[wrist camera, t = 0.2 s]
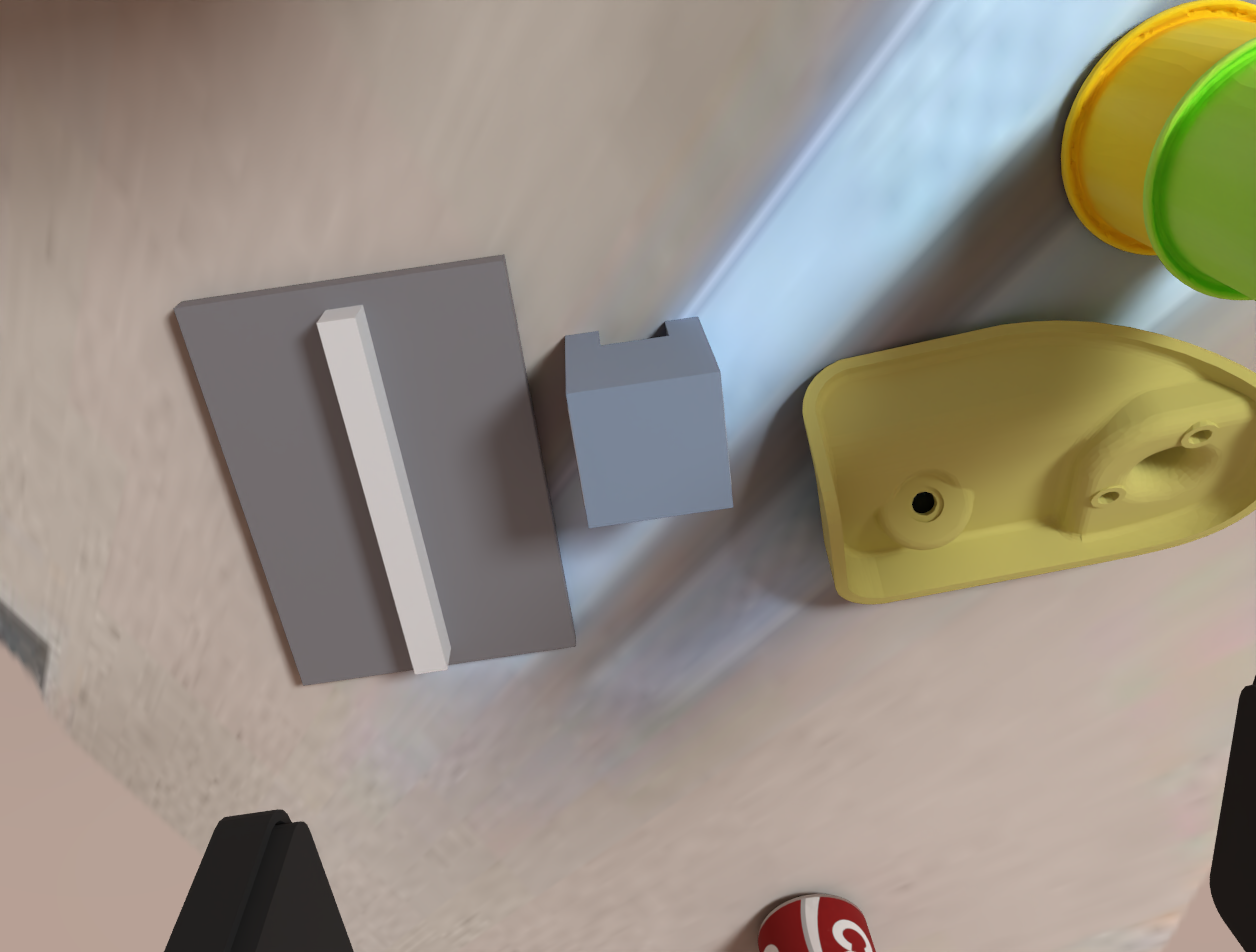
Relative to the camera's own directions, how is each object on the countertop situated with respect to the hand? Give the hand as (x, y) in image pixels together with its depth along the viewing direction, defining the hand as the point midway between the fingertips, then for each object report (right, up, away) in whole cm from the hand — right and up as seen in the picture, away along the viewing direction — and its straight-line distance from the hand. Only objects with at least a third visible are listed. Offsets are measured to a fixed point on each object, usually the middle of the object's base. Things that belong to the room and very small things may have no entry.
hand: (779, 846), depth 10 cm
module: (-1, +8, +36) cm, 37 cm away
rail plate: (-12, +3, +38) cm, 40 cm away
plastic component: (+17, +5, +39) cm, 43 cm away
